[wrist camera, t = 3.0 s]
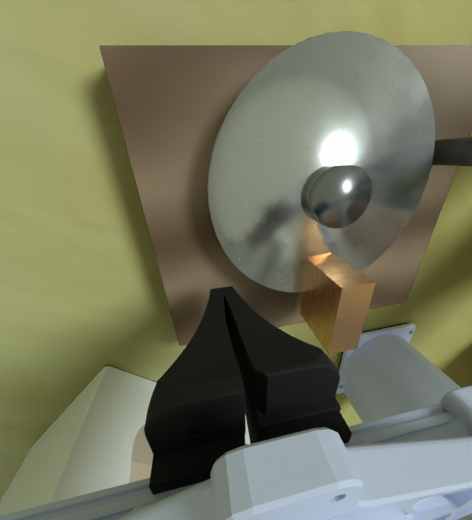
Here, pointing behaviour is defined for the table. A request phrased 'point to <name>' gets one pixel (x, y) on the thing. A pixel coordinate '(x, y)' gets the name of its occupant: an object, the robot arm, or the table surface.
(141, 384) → the gable box
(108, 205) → the table surface
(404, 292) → the walnut board
